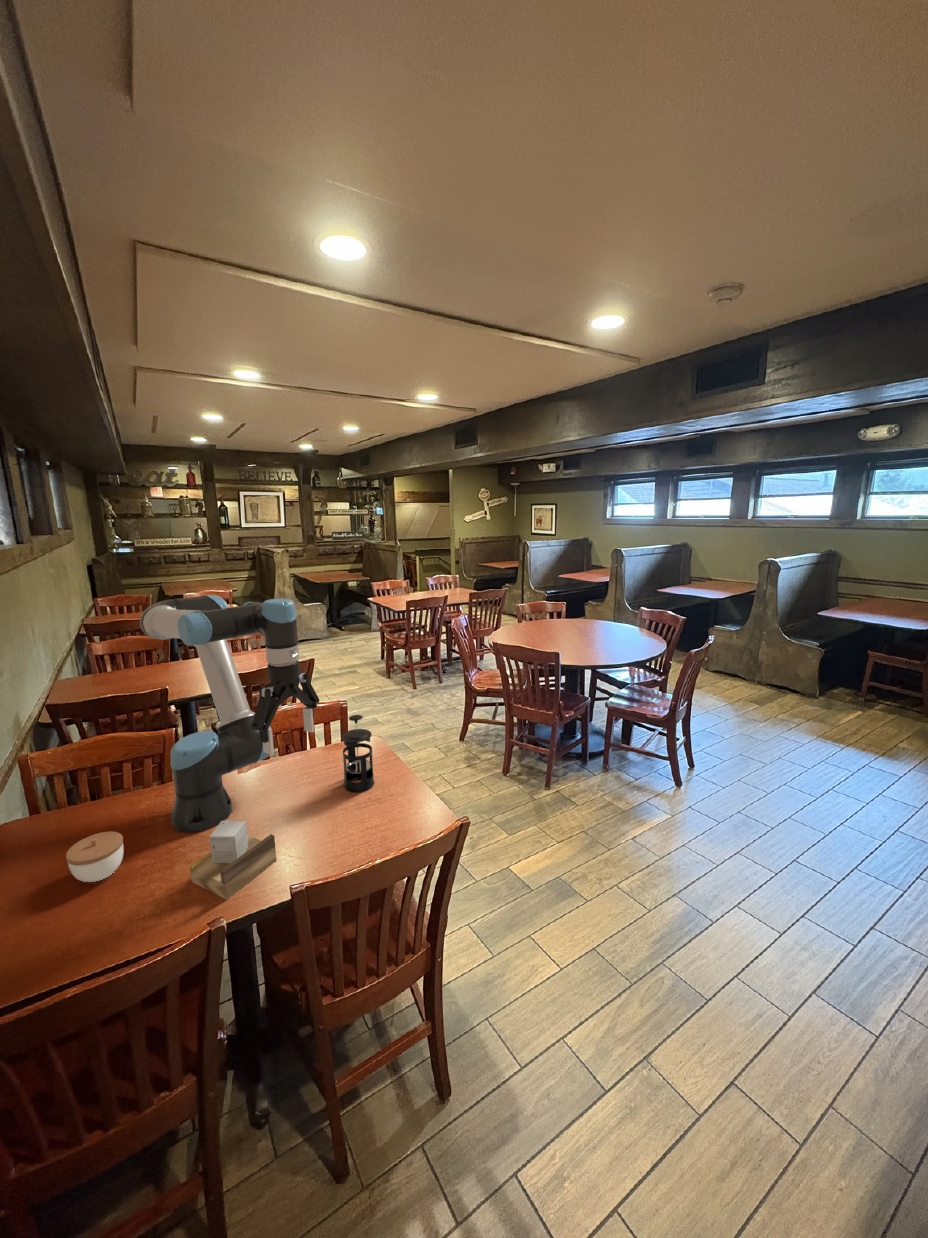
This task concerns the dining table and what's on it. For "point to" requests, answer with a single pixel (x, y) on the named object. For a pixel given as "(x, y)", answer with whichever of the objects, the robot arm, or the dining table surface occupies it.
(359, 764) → the french press
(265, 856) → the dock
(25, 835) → the dining table surface
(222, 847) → the product box
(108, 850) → the lidded jar
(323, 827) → the dining table surface
